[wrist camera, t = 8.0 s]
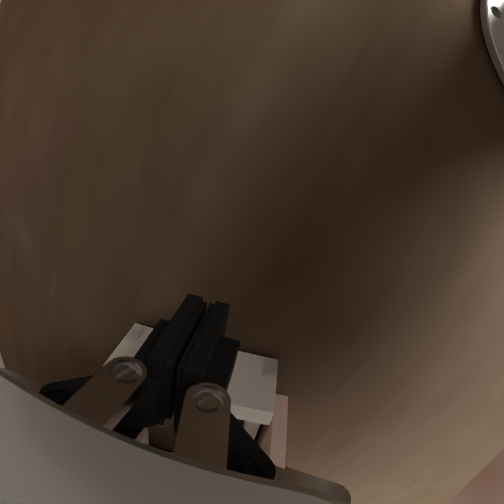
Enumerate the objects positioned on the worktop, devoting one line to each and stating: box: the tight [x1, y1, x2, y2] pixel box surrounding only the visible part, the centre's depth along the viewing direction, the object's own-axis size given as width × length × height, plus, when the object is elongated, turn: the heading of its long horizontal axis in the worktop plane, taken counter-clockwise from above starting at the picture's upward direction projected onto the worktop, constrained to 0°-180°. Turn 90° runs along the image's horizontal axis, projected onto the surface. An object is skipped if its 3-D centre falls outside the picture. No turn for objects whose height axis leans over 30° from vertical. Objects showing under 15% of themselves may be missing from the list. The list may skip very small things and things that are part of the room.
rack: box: [103, 323, 278, 454], centre depth 23 cm, size 10×26×5 cm, turn 168°
